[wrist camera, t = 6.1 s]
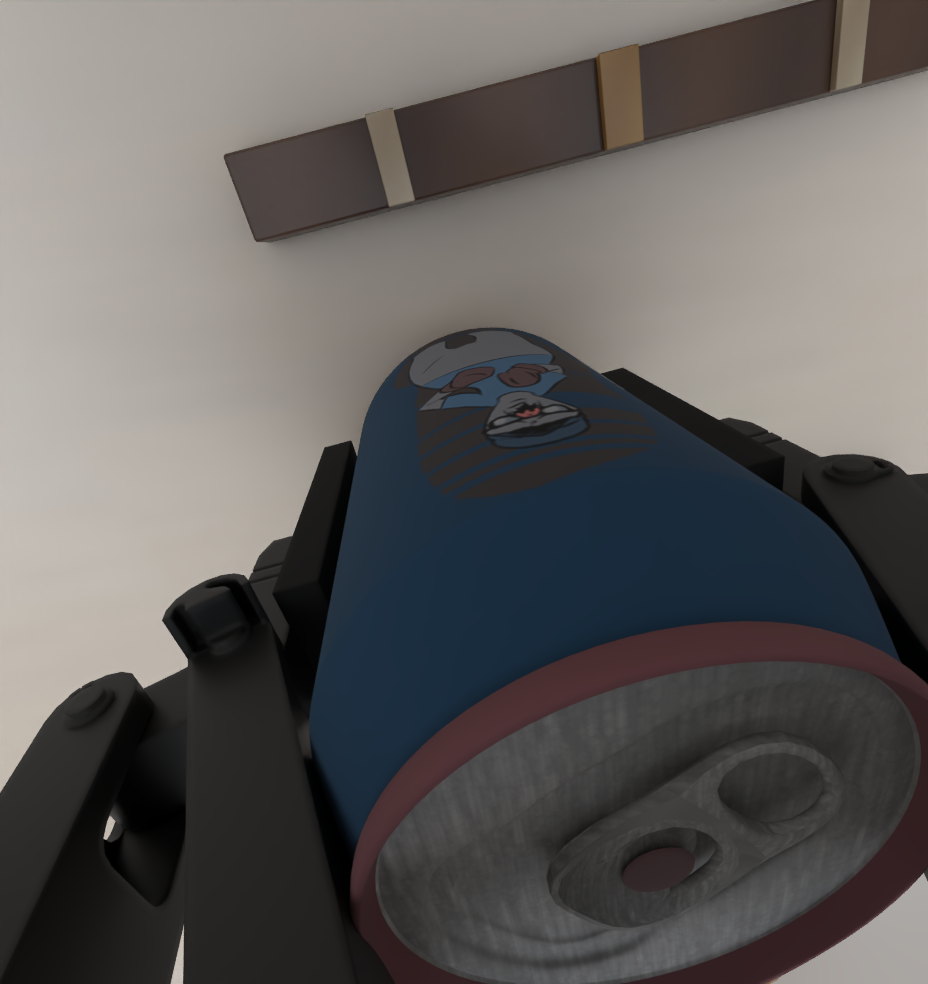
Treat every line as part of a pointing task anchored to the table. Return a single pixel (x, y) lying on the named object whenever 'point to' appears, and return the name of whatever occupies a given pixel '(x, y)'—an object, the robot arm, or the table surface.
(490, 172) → the guide track
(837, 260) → the table surface
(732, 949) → the soda can
